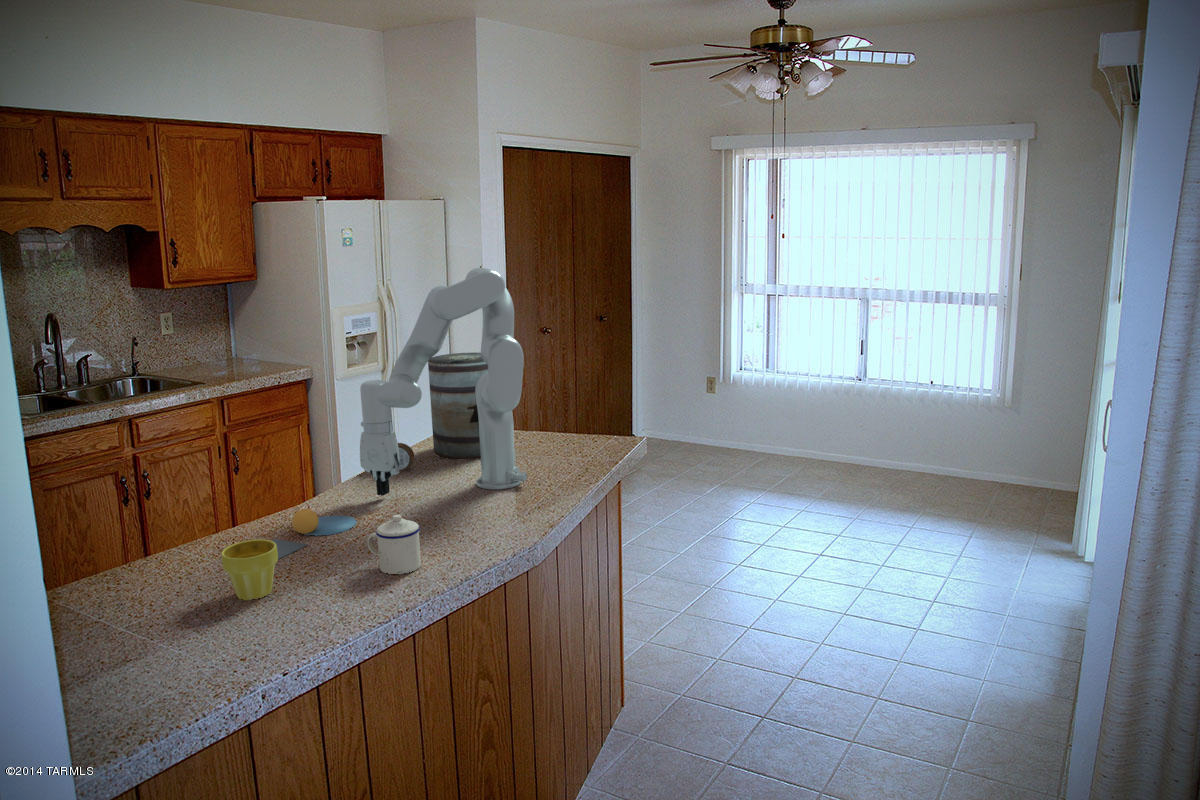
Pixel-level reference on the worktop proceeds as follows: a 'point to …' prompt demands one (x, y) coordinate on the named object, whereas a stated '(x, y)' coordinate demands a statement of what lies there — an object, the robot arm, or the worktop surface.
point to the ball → (305, 521)
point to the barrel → (455, 404)
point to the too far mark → (287, 547)
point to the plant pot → (251, 567)
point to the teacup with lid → (397, 546)
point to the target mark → (333, 525)
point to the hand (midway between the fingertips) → (383, 493)
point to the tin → (405, 456)
